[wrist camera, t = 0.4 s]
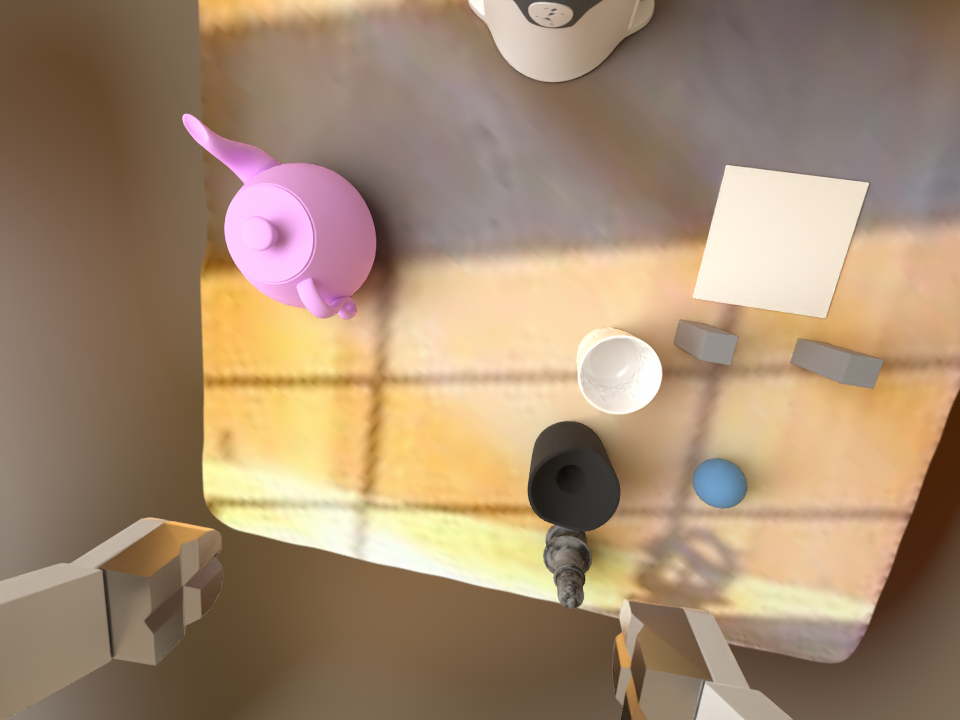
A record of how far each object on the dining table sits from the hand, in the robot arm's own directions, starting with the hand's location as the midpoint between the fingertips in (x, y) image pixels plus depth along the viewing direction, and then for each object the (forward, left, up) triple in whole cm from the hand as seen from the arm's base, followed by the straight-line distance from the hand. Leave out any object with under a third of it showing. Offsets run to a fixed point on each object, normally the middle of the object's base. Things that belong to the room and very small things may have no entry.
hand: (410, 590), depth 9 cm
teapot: (-6, -25, -47) cm, 53 cm away
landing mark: (-12, +26, -47) cm, 55 cm away
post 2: (-1, +32, -47) cm, 57 cm away
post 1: (-1, +19, -47) cm, 50 cm away
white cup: (+3, +11, -47) cm, 48 cm away
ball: (+15, +26, -44) cm, 53 cm away
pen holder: (+16, +9, -47) cm, 50 cm away
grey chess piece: (+28, +11, -47) cm, 56 cm away
